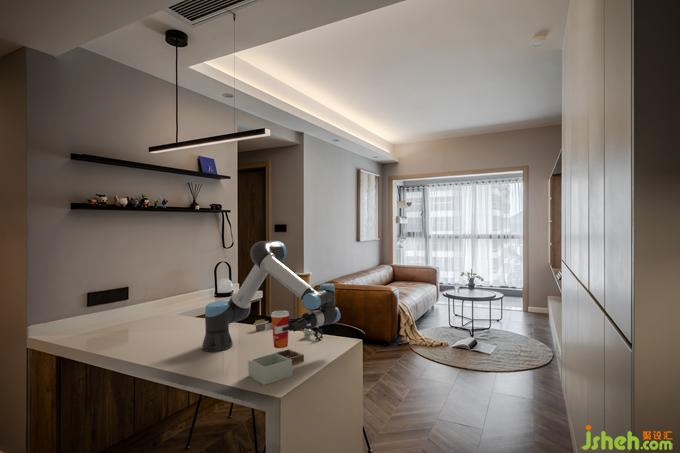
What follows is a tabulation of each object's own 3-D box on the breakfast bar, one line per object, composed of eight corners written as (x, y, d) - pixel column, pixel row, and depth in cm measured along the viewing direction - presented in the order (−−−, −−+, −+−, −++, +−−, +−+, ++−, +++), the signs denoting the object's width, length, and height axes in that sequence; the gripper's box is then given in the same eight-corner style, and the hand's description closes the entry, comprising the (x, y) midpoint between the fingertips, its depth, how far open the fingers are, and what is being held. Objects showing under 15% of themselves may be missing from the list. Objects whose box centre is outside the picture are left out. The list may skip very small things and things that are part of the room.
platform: (242, 332, 222) (242, 321, 222) (266, 326, 235) (266, 316, 236) (253, 335, 214) (253, 324, 214) (278, 329, 227) (278, 318, 228)
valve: (300, 338, 205) (315, 342, 197) (300, 326, 205) (315, 329, 197) (309, 335, 210) (324, 339, 202) (308, 324, 210) (323, 327, 202)
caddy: (248, 375, 151) (248, 359, 151) (275, 367, 160) (275, 352, 160) (264, 384, 141) (263, 368, 142) (292, 375, 150) (291, 359, 150)
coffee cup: (272, 344, 163) (271, 310, 163) (290, 342, 164) (289, 309, 164) (270, 349, 155) (269, 314, 155) (290, 348, 156) (289, 313, 156)
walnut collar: (267, 361, 168) (267, 354, 168) (289, 355, 176) (289, 348, 176) (281, 368, 159) (281, 361, 159) (303, 361, 167) (303, 354, 167)
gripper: (326, 331, 164) (283, 342, 149) (300, 324, 179) (258, 333, 163) (325, 314, 165) (283, 324, 149) (299, 308, 179) (258, 316, 163)
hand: (270, 329), depth 156 cm, fingers closed on coffee cup, 7 cm apart
